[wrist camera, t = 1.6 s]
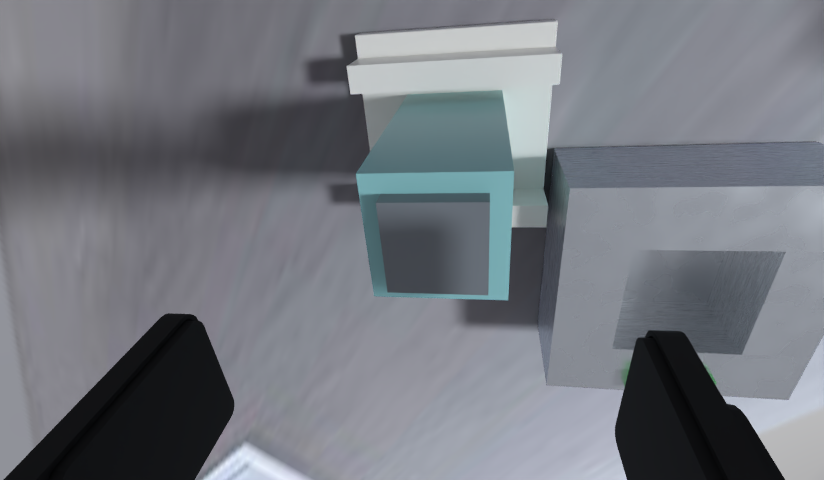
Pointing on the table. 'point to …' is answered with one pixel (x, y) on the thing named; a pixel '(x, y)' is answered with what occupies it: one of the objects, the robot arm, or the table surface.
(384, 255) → the plug
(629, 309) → the port
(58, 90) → the table surface
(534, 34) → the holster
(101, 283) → the table surface
